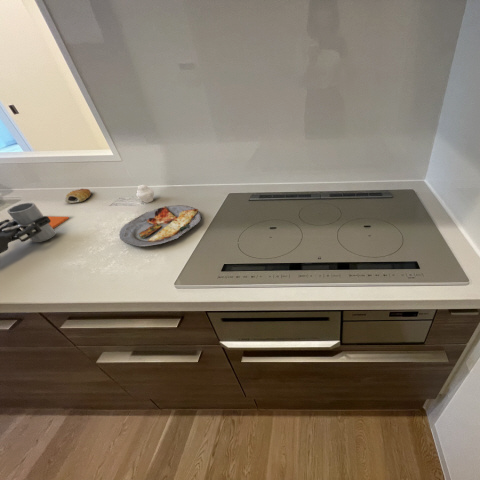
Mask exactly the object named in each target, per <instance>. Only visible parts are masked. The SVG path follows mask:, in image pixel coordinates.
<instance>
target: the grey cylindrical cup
mask: <svg viewBox="0 0 480 480" xmlns="http://www.w3.org/2000/svg"><path fill="white" fill-rule="evenodd" d="M7 213H8V214H9V216H10V217H11V218H12V219H14V220H15V221H16V223H17V224H18V225H20V224H28V223H31V222H33V221H35V220H37V219H39V218H41V217H43V216H44V215H43V213H42V212H41V211H40V209H39V208H38V206H37V205H36V203H34V202H23V203H20V204H17V205H13V206H11V207H9V208H8V209H7ZM29 227H30V226H29ZM26 228H28V227H26ZM20 229H21V230H23V229H22V228H20ZM40 229H41V230H42V231H41V232H40V233H38V234H36V235H35V236H33V237H31V238H30V239H29V240H30V241H32V242H33V243H42V242H46V241H48V240H50V239H52V238H53V237H55V236H56V234H57V232H56V230H55V228H52V226H51V225H50V224H49V223H48V224H46V225H44V226H42V227H40Z"/></svg>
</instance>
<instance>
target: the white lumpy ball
mask: <svg viewBox="0 0 480 480" xmlns="http://www.w3.org/2000/svg"><path fill="white" fill-rule="evenodd" d="M135 196H136V197H137V198H138V199H139V200H140V201H142V202H143V203H145V204H147V203H152V202H153V201H154V197H155V190H154V189H152V188H150V187H149V186H148V185H147V184H140V185H138V186H137V191H136V194H135Z"/></svg>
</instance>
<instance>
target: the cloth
mask: <svg viewBox="0 0 480 480" xmlns="http://www.w3.org/2000/svg"><path fill="white" fill-rule="evenodd" d="M46 216H47V217H48V218H49V219H50V223H49V224H50V225H51V226H52V228H53V229H55V228H56V227H58V226H59V225H61V224H62V223H64V222H66V221H67V220H68V219H70V217H69V216H48V215H46Z"/></svg>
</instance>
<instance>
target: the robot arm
mask: <svg viewBox="0 0 480 480" xmlns="http://www.w3.org/2000/svg"><path fill="white" fill-rule="evenodd" d="M47 216H48V215H43V217H41V218H39V219H37V220H35V221H33V222H31V223H28V224H20V225H18V224H17V223H16V221H15V220H14V219H13V218H12V219H9V218H8V219H3V220H2V221H0V254H2V253H4V252H6V251H8V250H9V243H13V242H16V241H18V240H19V241H20V242H21V243H24V242H26V241H28V240H31V239H30V238H31V237H33V236H35V235H36V234H38V233H40V232H41V231H42V230H41V229H40V227H42V226H44V225H46V224H48V223H50V219H49V218H48V217H49V216H48V217H47ZM29 226H30V227H29ZM26 227H28V228H26ZM21 228H22V229H23V230H22V229H21Z"/></svg>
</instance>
